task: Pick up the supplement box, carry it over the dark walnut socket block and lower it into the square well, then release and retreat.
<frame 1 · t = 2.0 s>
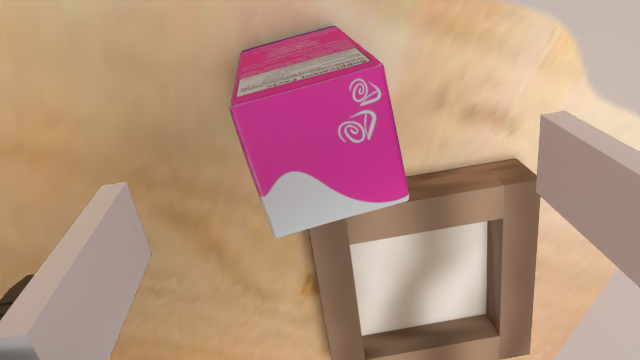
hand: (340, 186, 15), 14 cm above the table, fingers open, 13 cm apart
supplement box: (302, 84, 28), on the table
socket block: (416, 265, 34), on the table
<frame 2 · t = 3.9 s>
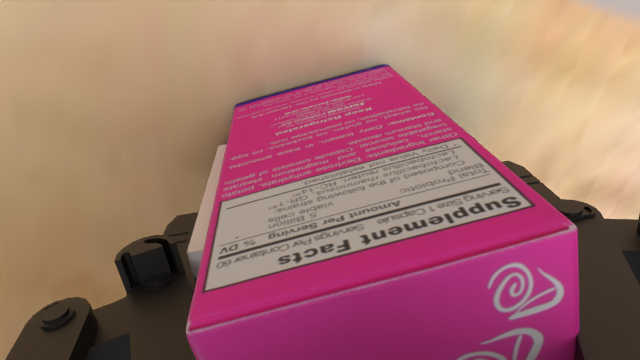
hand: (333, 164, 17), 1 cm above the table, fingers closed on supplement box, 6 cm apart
supplement box: (330, 152, 18), on the table, touching gripper
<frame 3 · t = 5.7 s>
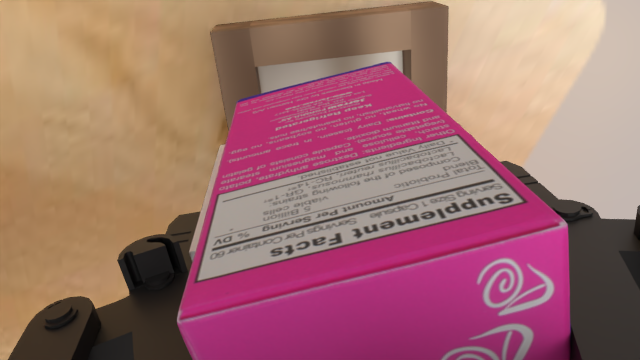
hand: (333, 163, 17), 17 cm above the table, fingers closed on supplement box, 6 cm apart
supplement box: (332, 148, 18), point 16 cm above the table, touching gripper
socket block: (334, 117, 34), on the table
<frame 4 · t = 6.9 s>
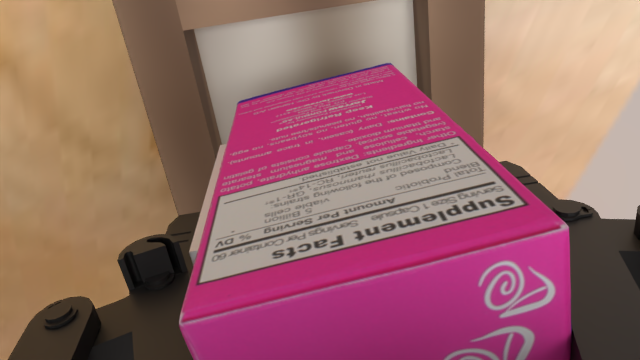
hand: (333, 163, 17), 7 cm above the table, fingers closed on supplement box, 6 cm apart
supplement box: (332, 149, 18), point 6 cm above the table, touching gripper
socket block: (316, 106, 23), on the table
when the fingers open (4 cm above the table, at t = 7.9 s): supplement box drops 2 cm, resting on socket block.
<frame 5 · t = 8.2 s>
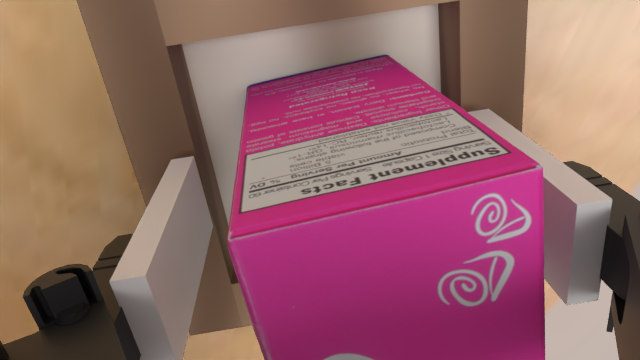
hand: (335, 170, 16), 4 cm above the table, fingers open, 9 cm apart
supplement box: (332, 134, 20), point 1 cm above the table, touching socket block
socket block: (324, 129, 20), on the table
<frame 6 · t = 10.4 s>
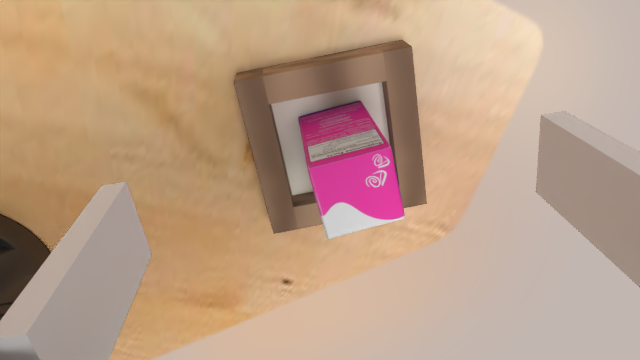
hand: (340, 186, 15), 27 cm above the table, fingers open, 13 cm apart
supplement box: (337, 136, 42), point 1 cm above the table, touching socket block
socket block: (333, 134, 43), on the table
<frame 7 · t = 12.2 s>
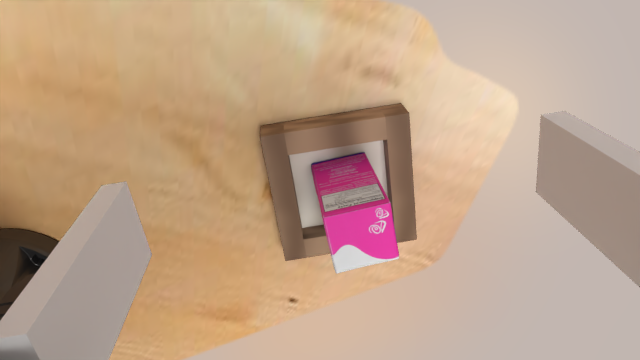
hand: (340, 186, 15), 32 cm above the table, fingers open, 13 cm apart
supplement box: (342, 180, 50), point 1 cm above the table, touching socket block
socket block: (339, 177, 50), on the table
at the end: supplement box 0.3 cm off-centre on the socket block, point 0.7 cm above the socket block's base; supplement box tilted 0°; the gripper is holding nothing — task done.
